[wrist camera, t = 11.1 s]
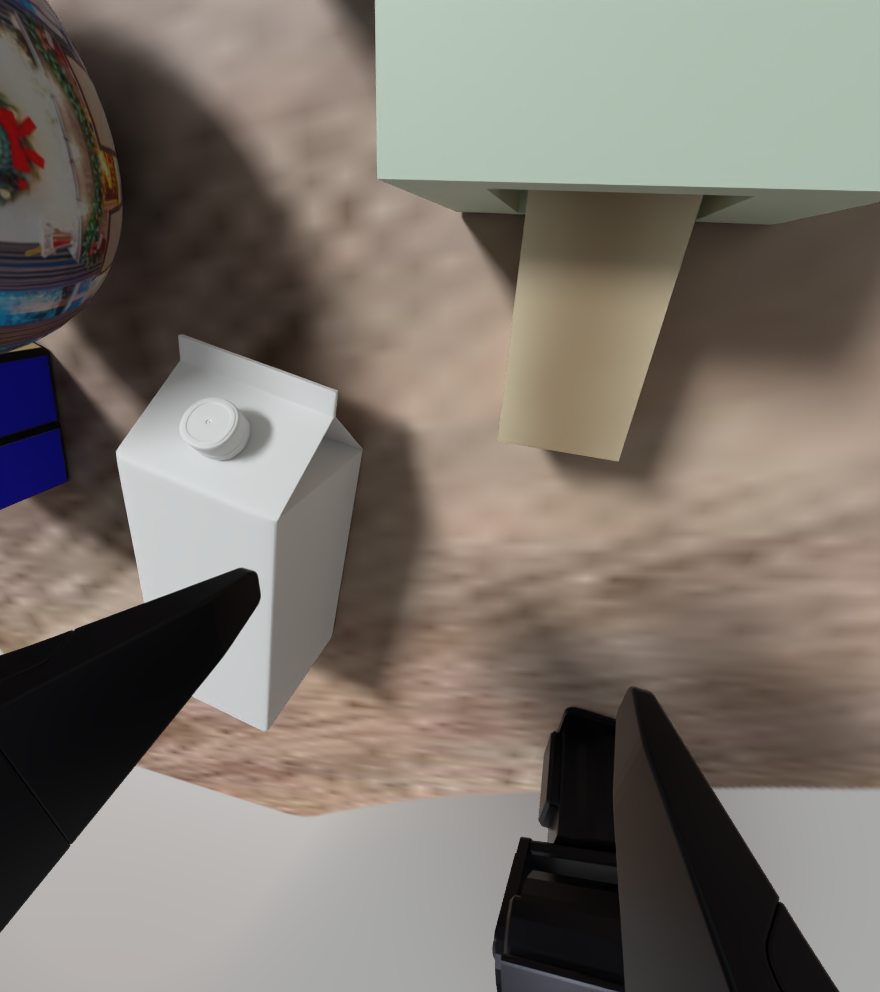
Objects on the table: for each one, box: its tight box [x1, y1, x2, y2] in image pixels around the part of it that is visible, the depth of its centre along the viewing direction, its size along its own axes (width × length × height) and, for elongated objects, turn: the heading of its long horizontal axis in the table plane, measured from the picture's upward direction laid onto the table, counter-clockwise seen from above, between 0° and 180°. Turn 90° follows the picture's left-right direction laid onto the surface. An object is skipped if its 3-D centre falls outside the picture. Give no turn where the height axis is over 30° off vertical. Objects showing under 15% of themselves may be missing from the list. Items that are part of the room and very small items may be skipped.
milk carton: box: [116, 334, 363, 731], centre depth 21 cm, size 7×7×19 cm
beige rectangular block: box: [497, 190, 703, 462], centre depth 13 cm, size 4×11×4 cm, turn 177°
